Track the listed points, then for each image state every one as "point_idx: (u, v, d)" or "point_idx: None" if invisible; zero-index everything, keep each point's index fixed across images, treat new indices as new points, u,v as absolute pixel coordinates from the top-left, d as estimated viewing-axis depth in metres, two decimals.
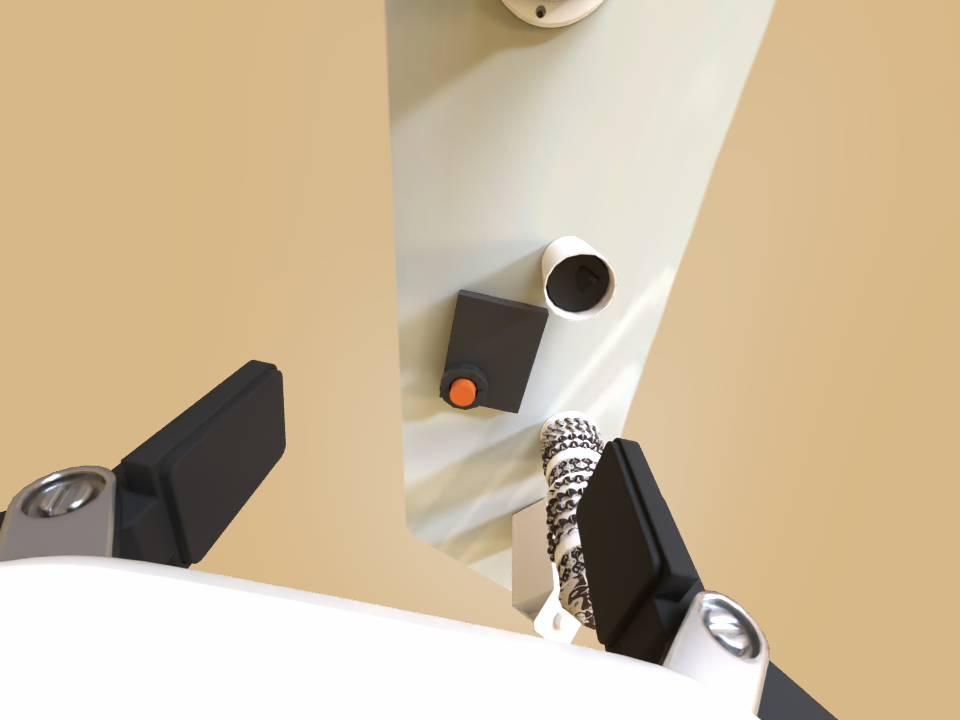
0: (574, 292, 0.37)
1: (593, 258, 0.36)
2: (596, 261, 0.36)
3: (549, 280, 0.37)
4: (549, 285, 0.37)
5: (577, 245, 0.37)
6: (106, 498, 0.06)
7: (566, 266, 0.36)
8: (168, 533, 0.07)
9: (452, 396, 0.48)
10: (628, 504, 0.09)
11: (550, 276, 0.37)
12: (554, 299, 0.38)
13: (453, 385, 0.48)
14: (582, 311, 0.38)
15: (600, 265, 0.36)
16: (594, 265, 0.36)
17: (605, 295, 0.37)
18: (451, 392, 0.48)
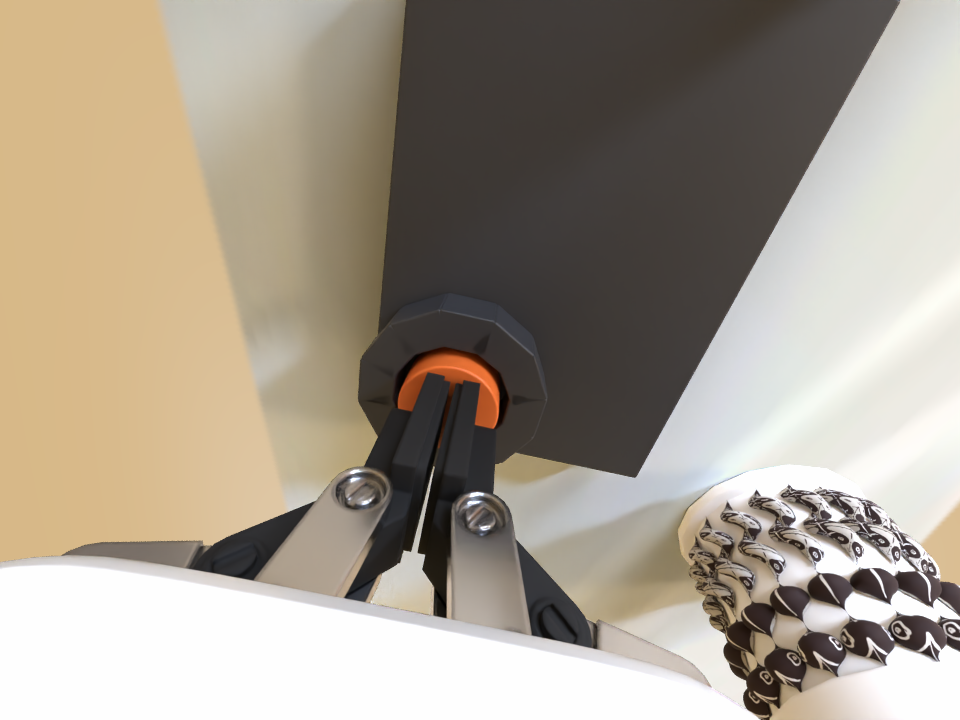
0: None
1: None
2: None
3: None
4: None
5: None
6: (392, 494, 0.07)
7: None
8: (405, 525, 0.09)
9: None
10: None
11: None
12: None
13: (413, 369, 0.12)
14: None
15: None
16: None
17: None
18: (404, 397, 0.12)
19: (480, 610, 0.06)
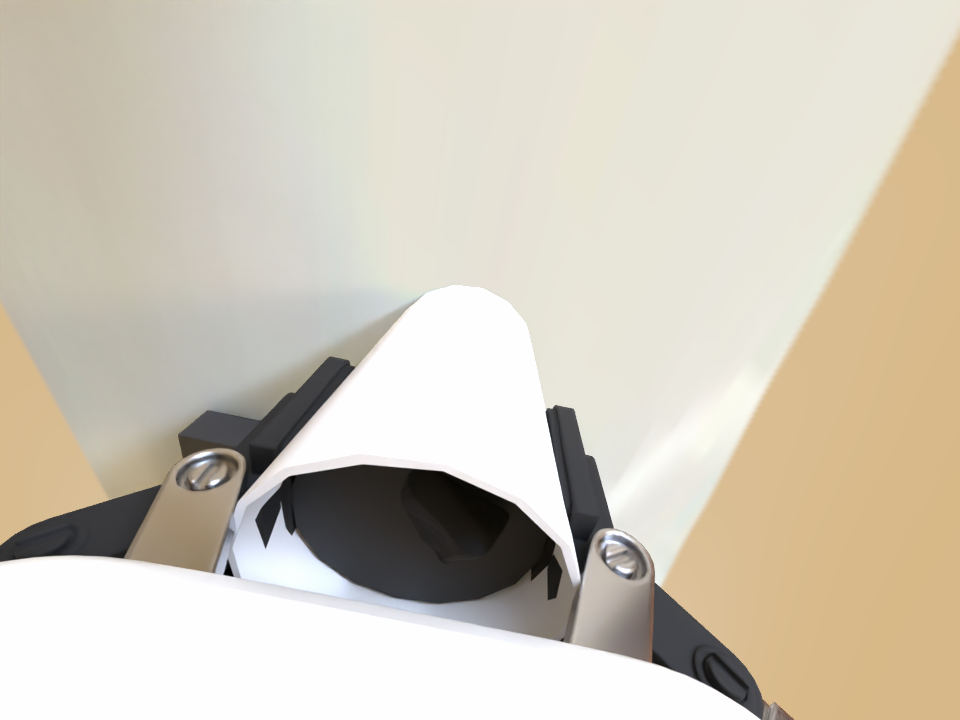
0: (414, 553, 0.09)
1: None
2: None
3: (298, 510, 0.09)
4: (304, 526, 0.09)
5: (426, 354, 0.09)
6: (242, 476, 0.07)
7: (352, 468, 0.08)
8: (278, 511, 0.08)
9: None
10: None
11: (296, 498, 0.08)
12: (340, 567, 0.09)
13: None
14: (458, 600, 0.10)
15: None
16: None
17: None
18: None
19: None
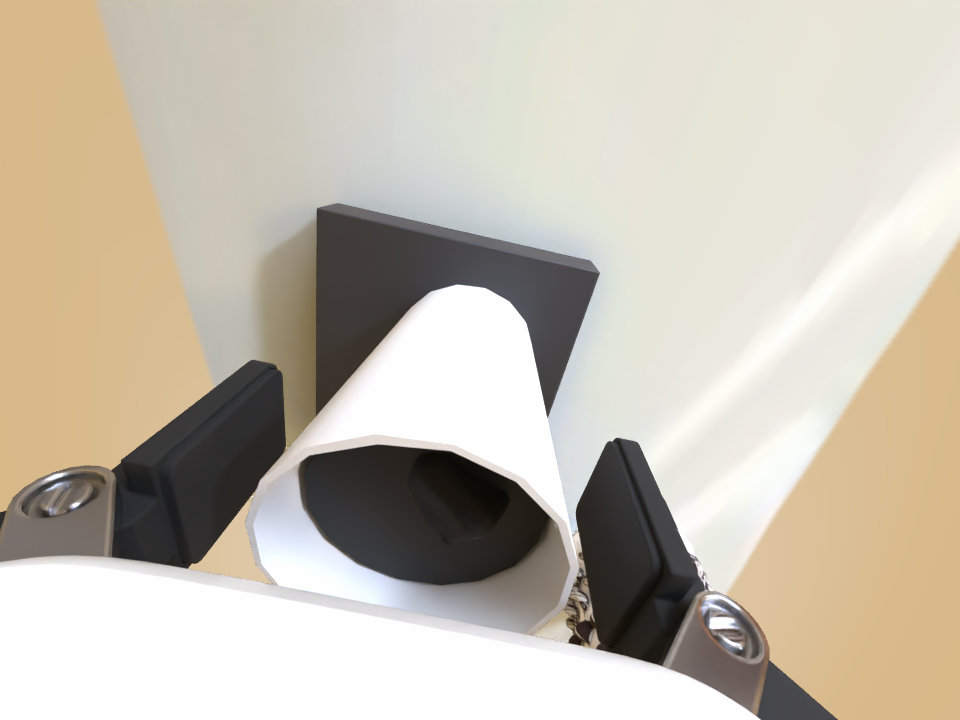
0: (420, 536, 0.09)
1: None
2: None
3: (311, 493, 0.09)
4: (316, 509, 0.09)
5: (432, 348, 0.09)
6: (106, 498, 0.06)
7: (364, 452, 0.08)
8: (168, 533, 0.07)
9: None
10: (628, 504, 0.09)
11: (309, 482, 0.09)
12: (349, 549, 0.10)
13: None
14: (460, 582, 0.10)
15: None
16: None
17: (540, 549, 0.09)
18: None
19: None
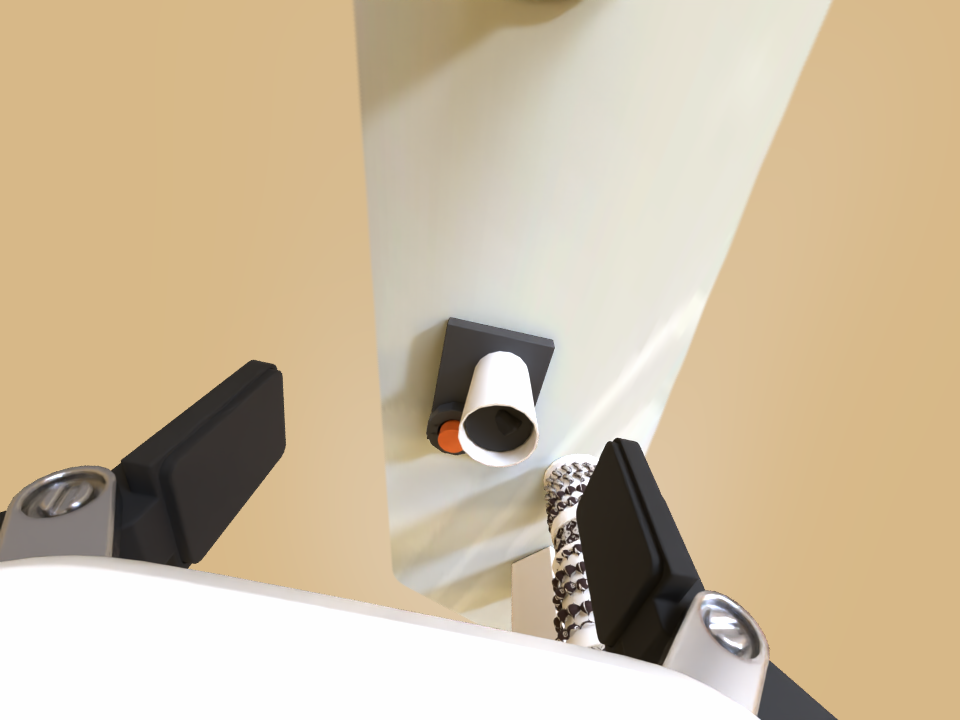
0: (496, 434, 0.33)
1: None
2: None
3: (467, 422, 0.33)
4: (467, 426, 0.33)
5: (499, 381, 0.33)
6: (106, 498, 0.06)
7: (484, 409, 0.32)
8: (168, 534, 0.07)
9: (441, 442, 0.41)
10: (628, 504, 0.09)
11: (467, 418, 0.33)
12: (474, 439, 0.34)
13: (442, 429, 0.41)
14: (506, 451, 0.34)
15: None
16: (515, 409, 0.32)
17: (530, 438, 0.33)
18: (439, 437, 0.41)
19: None
